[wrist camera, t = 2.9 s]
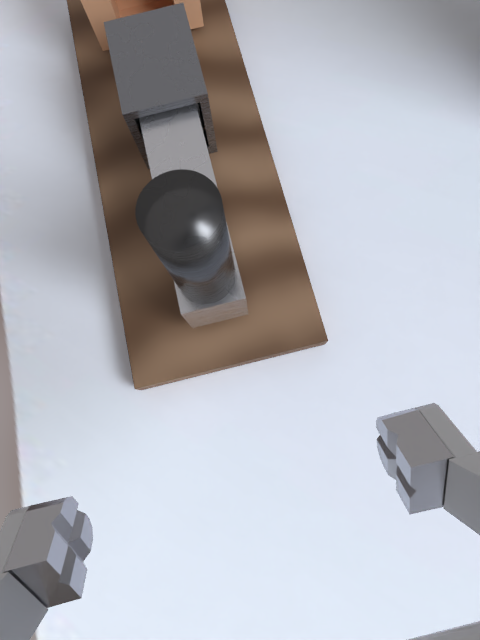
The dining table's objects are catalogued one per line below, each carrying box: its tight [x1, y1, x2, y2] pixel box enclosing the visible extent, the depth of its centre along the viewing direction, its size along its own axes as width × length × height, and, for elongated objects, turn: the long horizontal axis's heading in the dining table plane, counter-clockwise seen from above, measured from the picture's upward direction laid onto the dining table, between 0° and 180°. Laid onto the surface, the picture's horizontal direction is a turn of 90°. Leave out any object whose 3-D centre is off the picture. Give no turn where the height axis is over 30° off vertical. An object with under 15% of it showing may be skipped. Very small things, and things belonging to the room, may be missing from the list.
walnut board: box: [67, 0, 328, 390], centre depth 32 cm, size 37×14×2 cm, turn 14°
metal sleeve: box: [104, 3, 218, 169], centre depth 29 cm, size 8×6×6 cm
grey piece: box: [135, 104, 248, 328], centre depth 24 cm, size 21×4×12 cm, turn 14°
